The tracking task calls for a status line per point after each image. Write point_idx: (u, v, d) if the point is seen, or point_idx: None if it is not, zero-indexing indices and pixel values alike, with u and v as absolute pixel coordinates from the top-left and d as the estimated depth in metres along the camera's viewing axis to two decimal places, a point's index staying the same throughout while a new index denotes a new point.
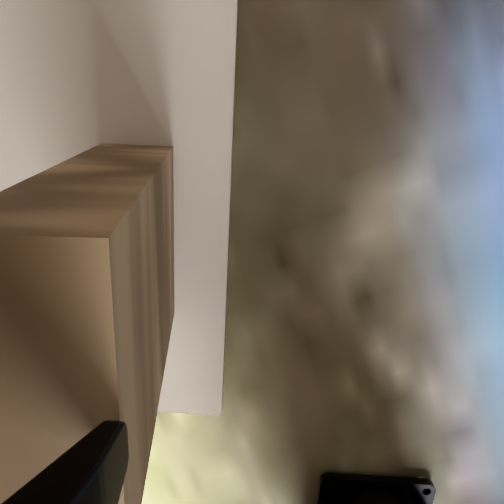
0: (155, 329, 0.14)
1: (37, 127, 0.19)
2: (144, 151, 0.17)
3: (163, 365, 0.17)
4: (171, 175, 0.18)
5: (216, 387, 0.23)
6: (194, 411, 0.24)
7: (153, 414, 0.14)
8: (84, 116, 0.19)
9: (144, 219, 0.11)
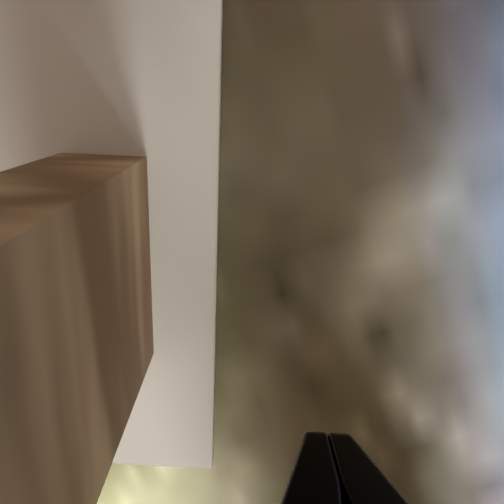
0: (86, 404, 0.10)
1: None
2: (102, 164, 0.14)
3: (117, 434, 0.13)
4: (141, 192, 0.15)
5: (205, 437, 0.20)
6: (180, 464, 0.20)
7: None
8: (36, 120, 0.15)
9: (34, 272, 0.08)
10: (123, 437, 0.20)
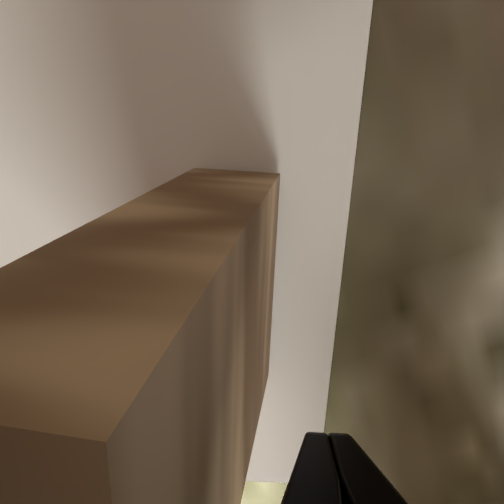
0: (235, 438, 0.10)
1: (112, 151, 0.15)
2: (242, 181, 0.13)
3: (247, 463, 0.13)
4: (275, 211, 0.14)
5: None
6: (285, 480, 0.20)
7: None
8: (171, 136, 0.15)
9: (222, 307, 0.07)
10: None
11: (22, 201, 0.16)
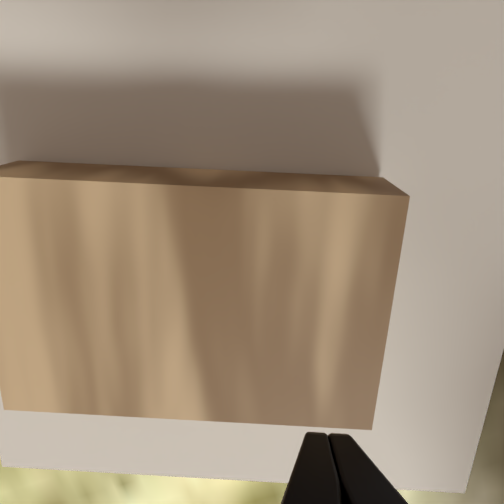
0: (161, 337, 0.14)
1: (306, 158, 0.15)
2: (334, 186, 0.13)
3: (223, 412, 0.15)
4: (370, 231, 0.13)
5: (466, 461, 0.19)
6: (433, 488, 0.20)
7: (133, 401, 0.15)
8: (368, 144, 0.15)
9: (100, 209, 0.13)
10: (380, 461, 0.19)
11: None
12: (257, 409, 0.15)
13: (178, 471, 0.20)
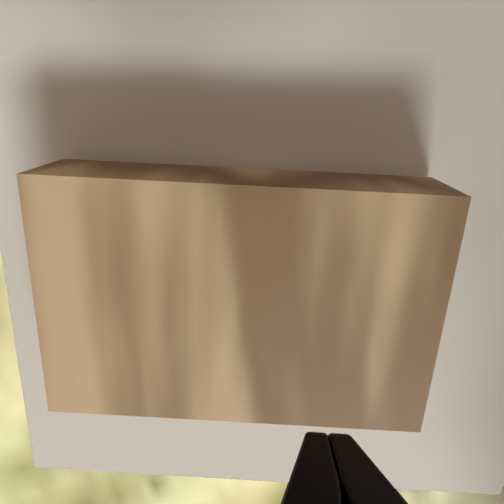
0: (211, 338, 0.14)
1: (354, 158, 0.15)
2: (390, 186, 0.13)
3: (270, 413, 0.15)
4: (429, 232, 0.12)
5: (503, 463, 0.19)
6: (468, 490, 0.20)
7: (180, 402, 0.15)
8: (418, 144, 0.15)
9: (156, 208, 0.12)
10: (417, 462, 0.19)
11: None
12: (305, 411, 0.15)
13: (212, 472, 0.20)
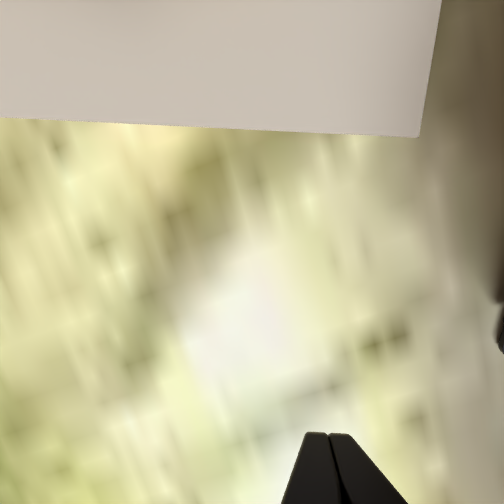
0: None
1: None
2: None
3: None
4: None
5: (418, 92, 0.18)
6: (384, 132, 0.18)
7: None
8: None
9: None
10: (327, 94, 0.18)
11: None
12: None
13: (112, 114, 0.19)
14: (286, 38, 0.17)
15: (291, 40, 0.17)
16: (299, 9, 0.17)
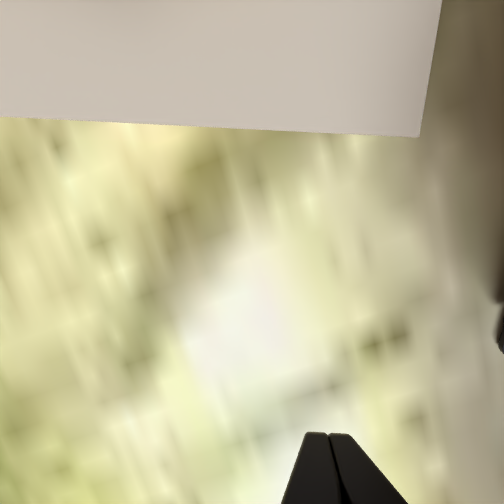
0: None
1: None
2: None
3: None
4: None
5: (419, 92, 0.18)
6: (384, 131, 0.18)
7: None
8: None
9: None
10: (327, 94, 0.18)
11: None
12: None
13: (112, 114, 0.19)
14: (286, 38, 0.17)
15: (291, 40, 0.17)
16: (299, 9, 0.17)
